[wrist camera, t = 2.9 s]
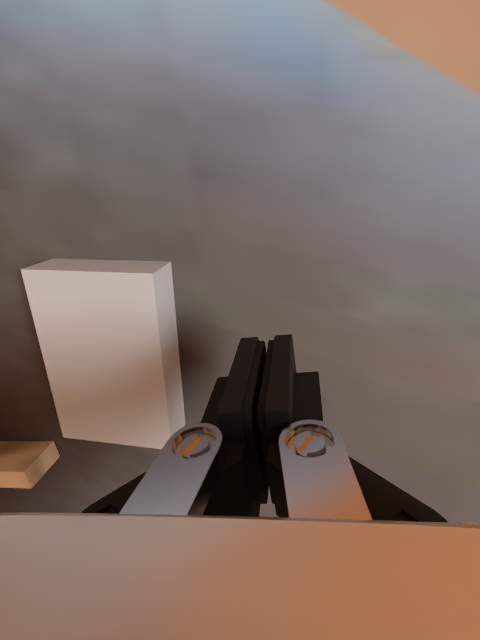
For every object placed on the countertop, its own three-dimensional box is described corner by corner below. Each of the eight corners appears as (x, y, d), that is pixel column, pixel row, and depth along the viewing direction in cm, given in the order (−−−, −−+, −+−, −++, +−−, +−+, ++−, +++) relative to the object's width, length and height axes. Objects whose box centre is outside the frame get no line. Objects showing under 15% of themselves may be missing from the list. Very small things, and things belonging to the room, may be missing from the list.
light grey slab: (173, 259, 17) (152, 273, 14) (187, 418, 20) (172, 450, 18) (58, 256, 18) (20, 269, 15) (89, 408, 21) (63, 437, 19)
